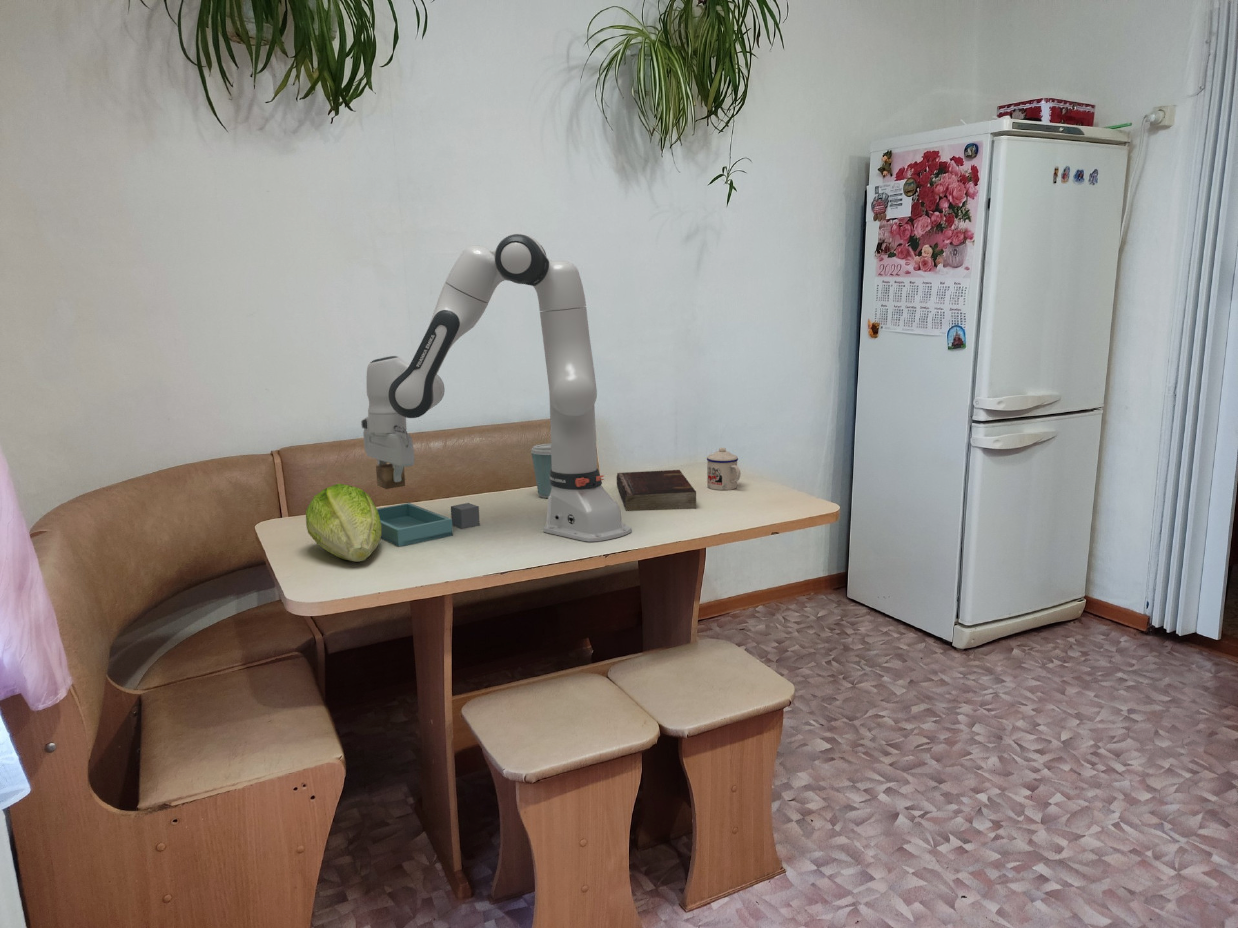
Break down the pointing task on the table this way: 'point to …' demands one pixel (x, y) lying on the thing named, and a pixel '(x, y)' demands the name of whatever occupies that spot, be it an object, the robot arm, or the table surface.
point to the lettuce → (344, 522)
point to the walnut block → (388, 477)
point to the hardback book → (656, 490)
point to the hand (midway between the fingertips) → (390, 479)
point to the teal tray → (412, 524)
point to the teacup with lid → (722, 470)
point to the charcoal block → (465, 515)
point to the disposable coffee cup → (542, 468)
